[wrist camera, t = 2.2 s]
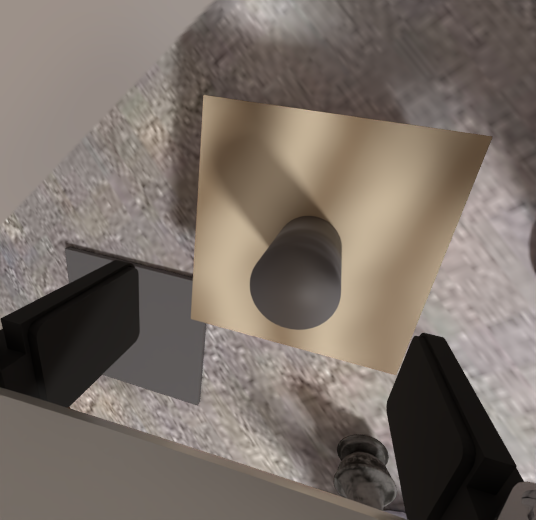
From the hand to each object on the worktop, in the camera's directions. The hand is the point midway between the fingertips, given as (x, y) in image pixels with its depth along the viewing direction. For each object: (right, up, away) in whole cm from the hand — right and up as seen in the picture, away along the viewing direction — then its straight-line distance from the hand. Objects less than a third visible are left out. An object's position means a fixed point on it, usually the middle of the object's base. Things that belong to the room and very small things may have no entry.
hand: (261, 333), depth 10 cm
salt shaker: (+10, -18, +23) cm, 31 cm away
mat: (-14, -5, +24) cm, 28 cm away
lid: (+3, +4, +9) cm, 10 cm away
